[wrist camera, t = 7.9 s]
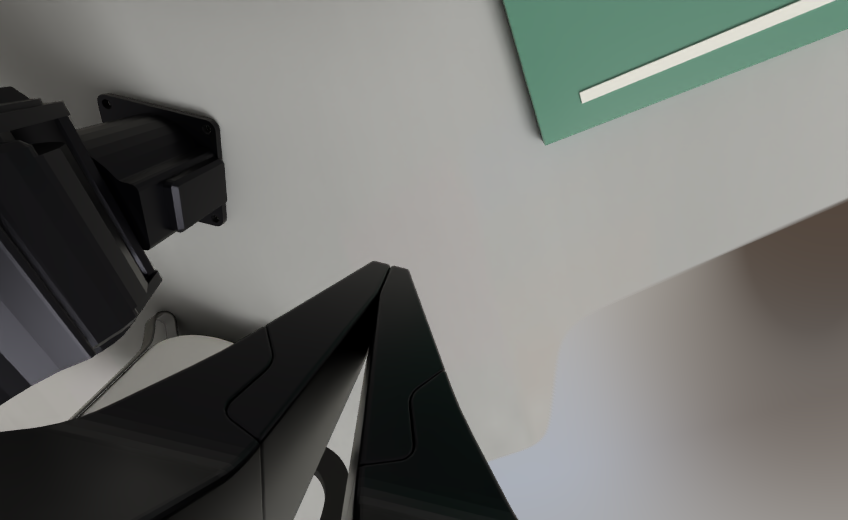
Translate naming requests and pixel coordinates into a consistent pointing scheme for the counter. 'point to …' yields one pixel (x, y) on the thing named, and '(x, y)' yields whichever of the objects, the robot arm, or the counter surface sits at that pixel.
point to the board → (648, 50)
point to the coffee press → (182, 355)
